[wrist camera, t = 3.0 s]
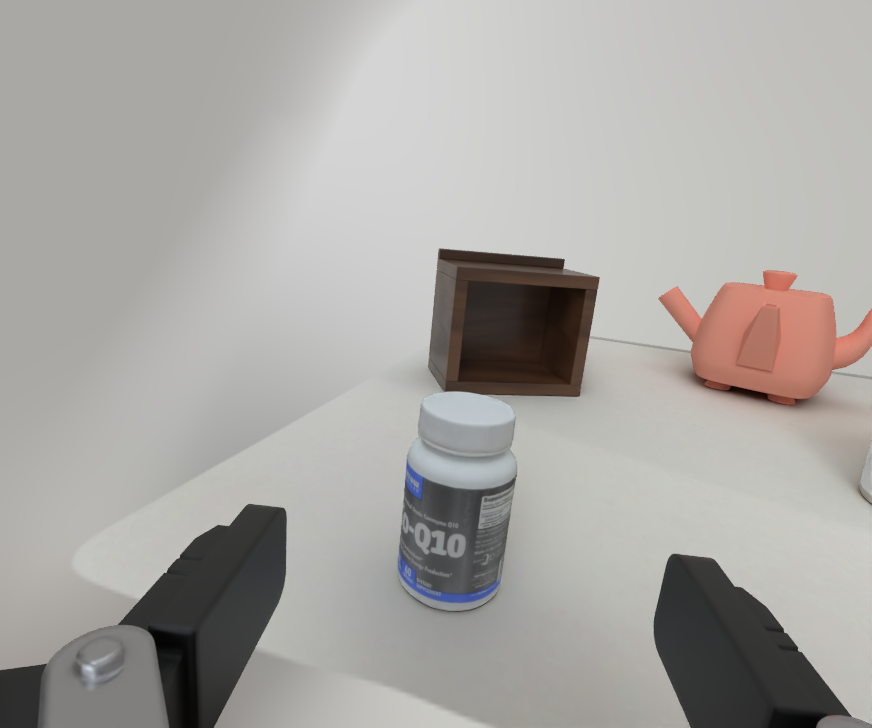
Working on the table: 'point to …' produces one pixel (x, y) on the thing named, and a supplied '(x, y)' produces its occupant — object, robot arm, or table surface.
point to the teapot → (768, 338)
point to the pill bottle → (457, 500)
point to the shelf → (510, 324)
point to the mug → (867, 477)
